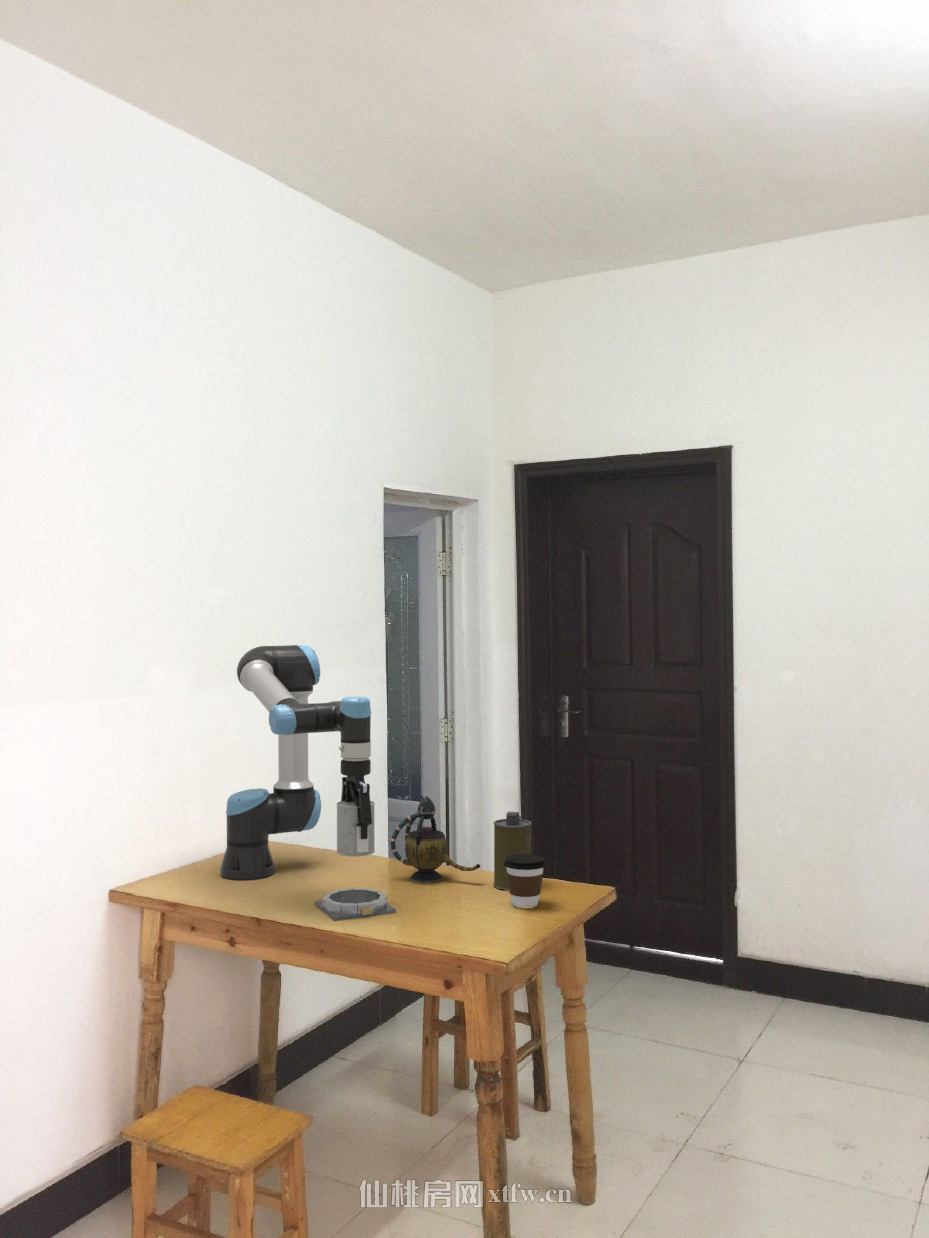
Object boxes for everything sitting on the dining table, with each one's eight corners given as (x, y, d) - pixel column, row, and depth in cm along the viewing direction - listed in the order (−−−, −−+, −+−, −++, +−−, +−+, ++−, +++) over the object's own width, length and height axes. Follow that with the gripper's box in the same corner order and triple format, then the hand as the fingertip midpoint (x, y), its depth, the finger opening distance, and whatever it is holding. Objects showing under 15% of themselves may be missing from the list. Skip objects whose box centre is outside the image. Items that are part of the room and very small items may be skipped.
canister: (528, 892, 280) (528, 817, 280) (490, 889, 282) (490, 815, 282) (534, 881, 291) (534, 809, 290) (497, 879, 293) (497, 807, 292)
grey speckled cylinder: (380, 849, 268) (380, 800, 268) (365, 857, 259) (365, 807, 259) (346, 846, 271) (346, 798, 271) (330, 854, 262) (330, 805, 262)
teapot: (407, 870, 303) (407, 790, 302) (487, 879, 293) (487, 796, 292) (388, 880, 292) (387, 797, 291) (470, 890, 282) (470, 803, 281)
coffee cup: (517, 913, 260) (517, 865, 260) (495, 902, 270) (495, 856, 270) (554, 907, 265) (554, 860, 265) (532, 897, 275) (532, 851, 275)
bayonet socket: (313, 902, 270) (313, 891, 270) (372, 895, 276) (372, 884, 276) (335, 921, 253) (335, 909, 253) (397, 913, 260) (397, 901, 260)
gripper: (327, 754, 273) (327, 840, 273) (356, 765, 253) (356, 858, 253) (354, 752, 276) (354, 837, 276) (385, 763, 256) (385, 855, 257)
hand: (355, 847), depth 265 cm, fingers closed on grey speckled cylinder, 9 cm apart
